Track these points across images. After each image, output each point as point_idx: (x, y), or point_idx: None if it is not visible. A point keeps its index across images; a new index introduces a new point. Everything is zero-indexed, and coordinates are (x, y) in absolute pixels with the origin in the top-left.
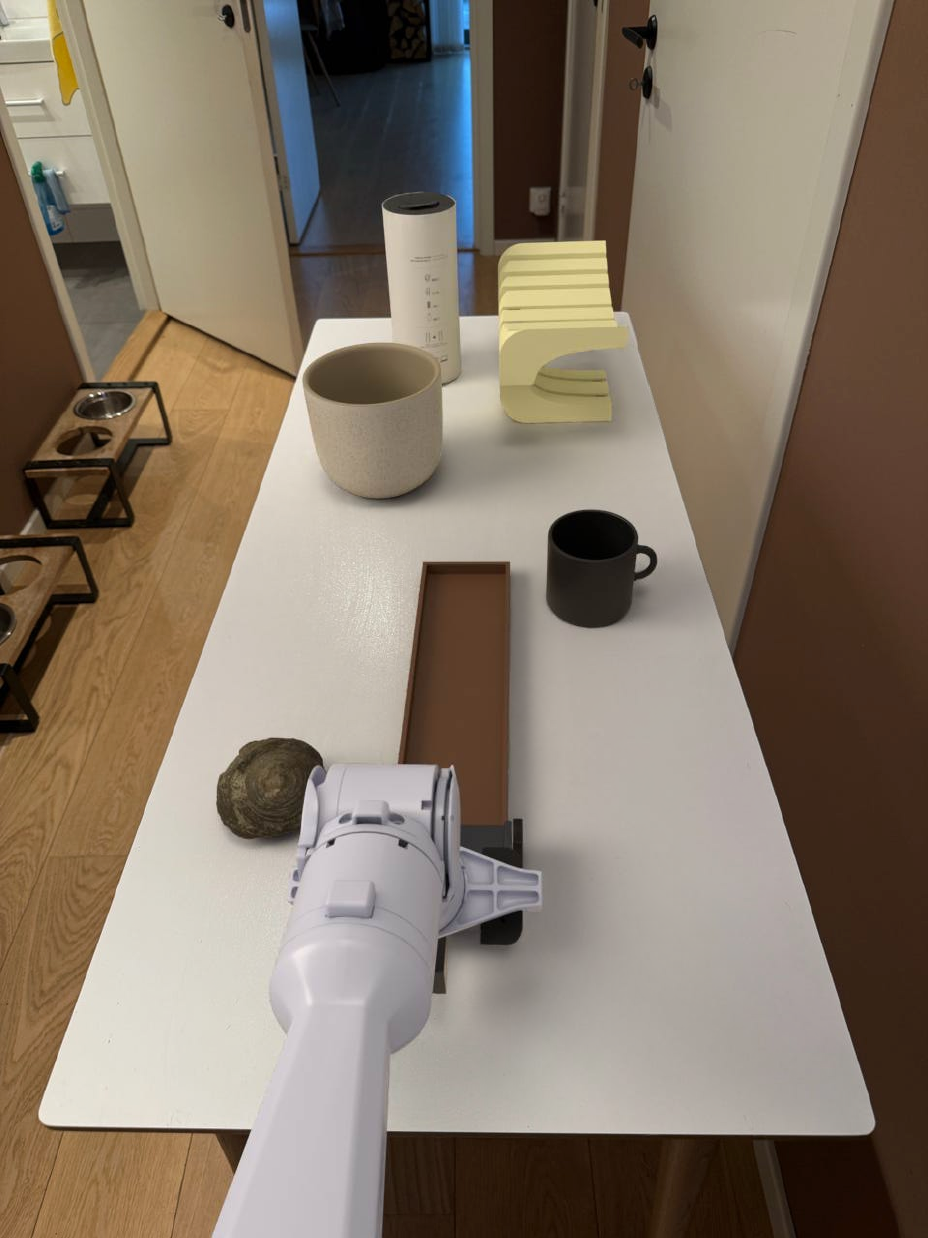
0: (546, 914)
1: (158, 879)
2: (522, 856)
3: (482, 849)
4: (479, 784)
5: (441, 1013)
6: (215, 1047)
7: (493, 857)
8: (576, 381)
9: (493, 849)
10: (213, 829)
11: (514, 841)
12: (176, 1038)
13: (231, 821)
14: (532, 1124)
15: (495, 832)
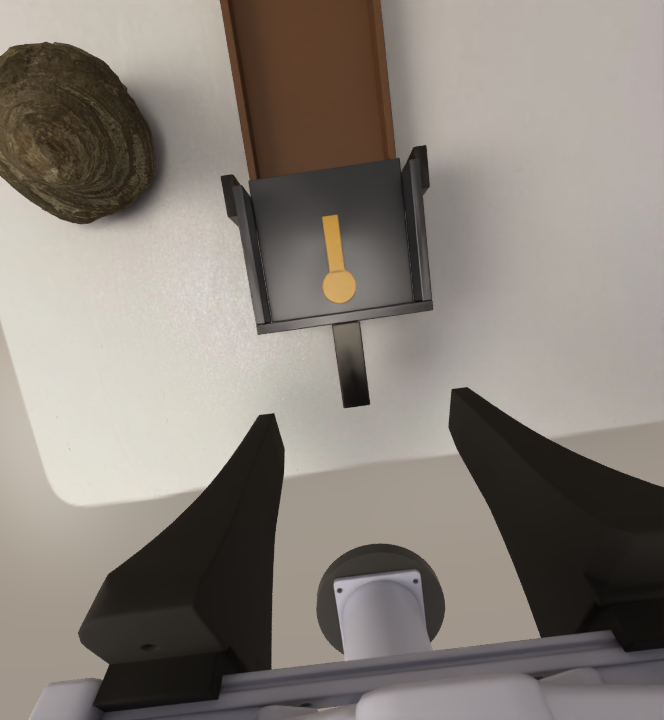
0: (442, 258)
1: (19, 285)
2: None
3: (614, 533)
4: (345, 81)
5: None
6: (163, 439)
7: (650, 553)
8: None
9: (661, 539)
10: None
11: None
12: (126, 437)
13: (46, 208)
14: (443, 454)
15: (389, 172)
